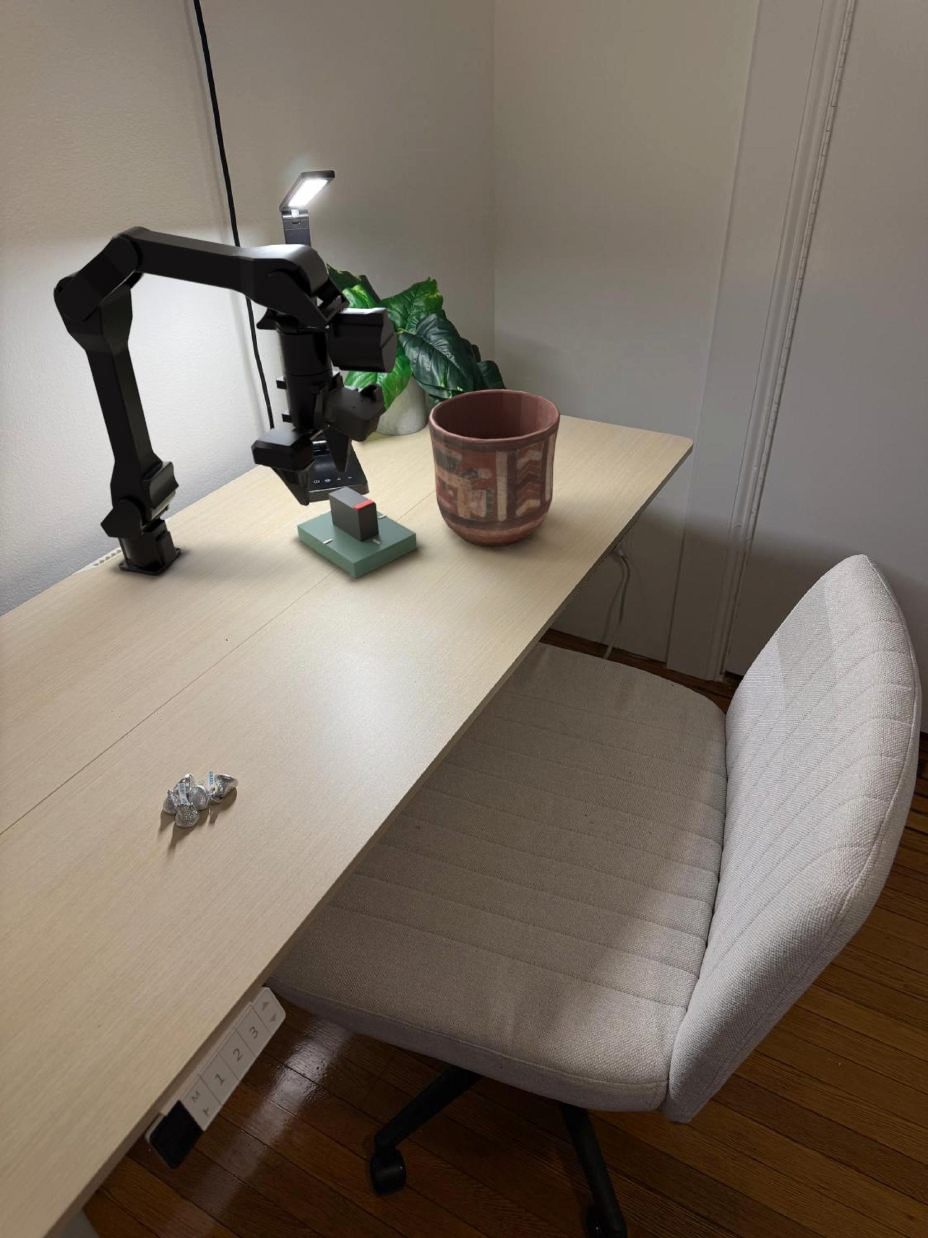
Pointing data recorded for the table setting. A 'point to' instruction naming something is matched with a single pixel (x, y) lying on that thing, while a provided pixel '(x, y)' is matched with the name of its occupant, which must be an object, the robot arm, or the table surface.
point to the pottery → (494, 463)
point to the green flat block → (357, 543)
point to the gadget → (354, 513)
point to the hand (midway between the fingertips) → (323, 487)
